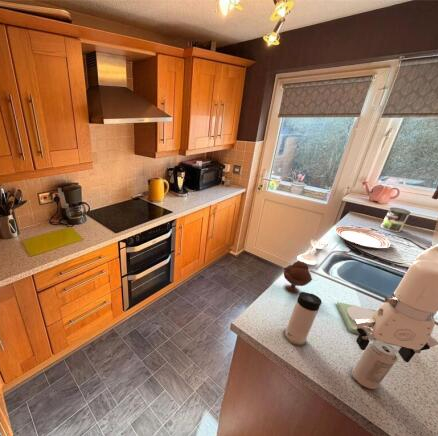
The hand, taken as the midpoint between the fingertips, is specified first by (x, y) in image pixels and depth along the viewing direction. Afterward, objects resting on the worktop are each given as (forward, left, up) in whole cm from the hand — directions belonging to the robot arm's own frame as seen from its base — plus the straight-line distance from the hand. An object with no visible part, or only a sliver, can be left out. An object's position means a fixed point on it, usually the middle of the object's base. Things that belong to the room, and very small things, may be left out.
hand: (380, 351), depth 65 cm
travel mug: (+17, -9, -14) cm, 23 cm away
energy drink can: (0, 0, -14) cm, 14 cm away
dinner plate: (-37, -104, -14) cm, 111 cm away
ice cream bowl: (+13, -37, -14) cm, 42 cm away
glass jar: (-65, -131, -14) cm, 147 cm away
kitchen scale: (-12, -26, -13) cm, 32 cm away
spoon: (-4, -74, -14) cm, 75 cm away
